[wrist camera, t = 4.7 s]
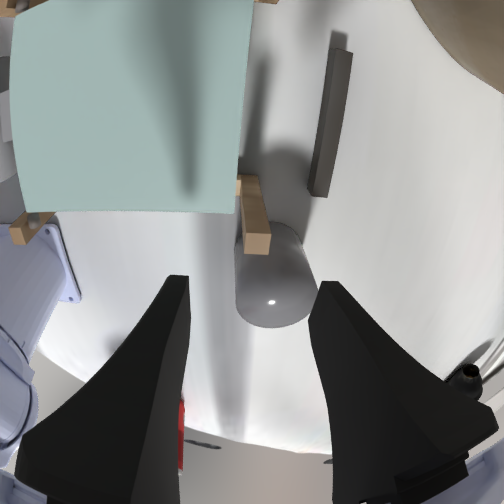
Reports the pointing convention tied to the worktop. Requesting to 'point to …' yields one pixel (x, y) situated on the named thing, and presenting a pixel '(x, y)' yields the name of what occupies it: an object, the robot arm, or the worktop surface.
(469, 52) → the plant pot
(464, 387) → the black hollow cone
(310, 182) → the toy chair
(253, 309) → the grey matte cylinder
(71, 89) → the teal flat panel
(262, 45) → the worktop surface
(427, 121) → the worktop surface
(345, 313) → the robot arm
